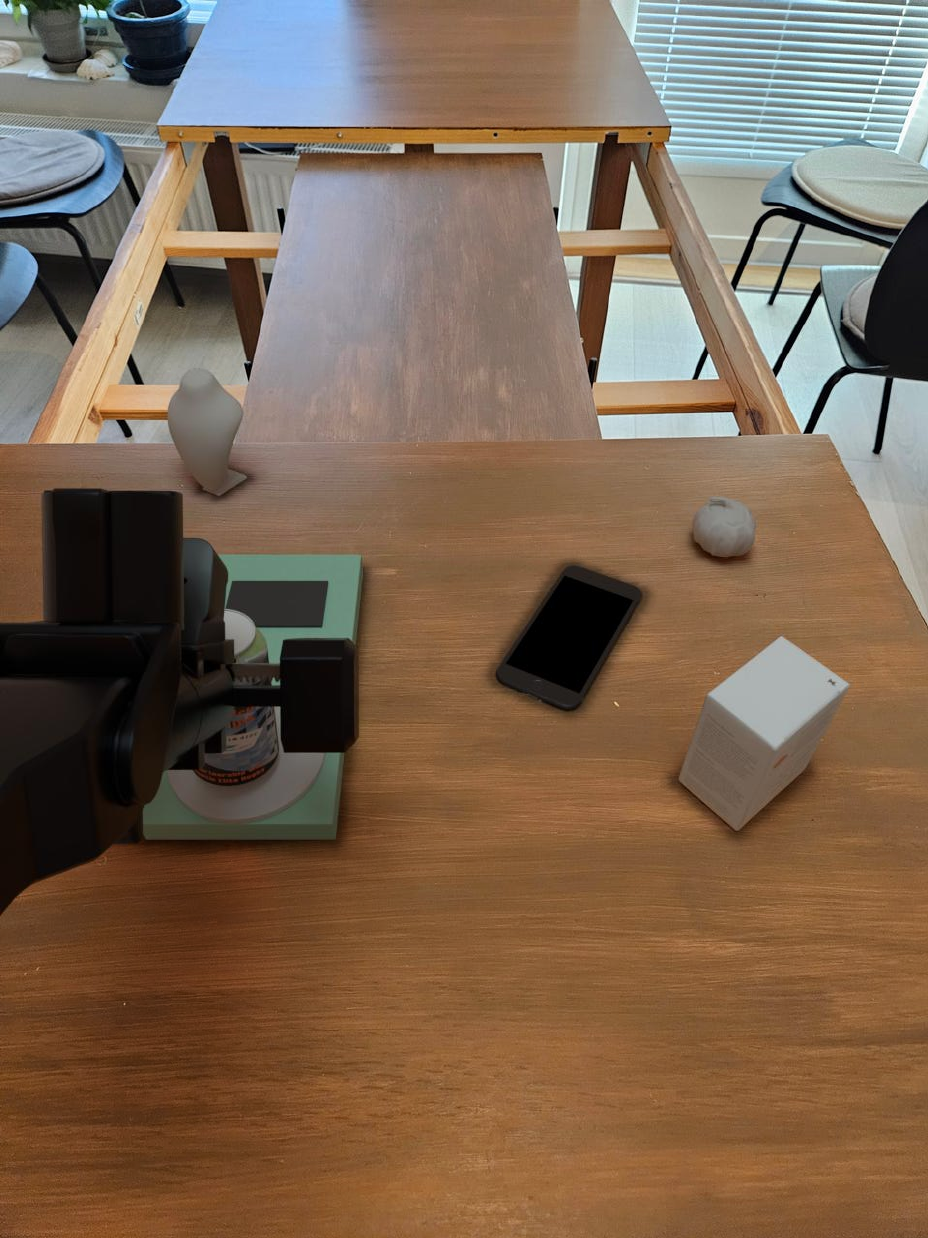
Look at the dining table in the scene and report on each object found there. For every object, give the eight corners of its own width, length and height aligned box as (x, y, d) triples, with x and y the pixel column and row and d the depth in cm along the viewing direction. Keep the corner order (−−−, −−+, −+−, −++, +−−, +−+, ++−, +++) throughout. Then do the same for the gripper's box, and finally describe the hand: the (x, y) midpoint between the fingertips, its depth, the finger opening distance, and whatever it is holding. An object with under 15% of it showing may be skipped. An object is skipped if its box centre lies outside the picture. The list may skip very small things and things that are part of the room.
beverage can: (181, 793, 60) (133, 683, 51) (213, 706, 65) (175, 592, 56) (272, 802, 60) (240, 693, 51) (298, 714, 65) (272, 600, 56)
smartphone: (489, 682, 71) (489, 675, 70) (567, 566, 80) (568, 559, 79) (574, 719, 68) (575, 712, 68) (645, 596, 77) (646, 588, 77)
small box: (744, 723, 68) (782, 631, 60) (806, 772, 65) (854, 682, 57) (674, 781, 64) (704, 691, 56) (735, 835, 61) (776, 749, 54)
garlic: (673, 538, 82) (683, 494, 78) (716, 517, 84) (728, 473, 80) (719, 577, 78) (733, 533, 74) (763, 554, 80) (778, 509, 76)
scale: (335, 840, 61) (331, 819, 59) (145, 840, 61) (134, 819, 59) (363, 572, 78) (360, 549, 76) (215, 572, 78) (209, 548, 76)
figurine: (172, 487, 86) (138, 379, 77) (207, 458, 89) (179, 350, 80) (233, 512, 84) (206, 404, 75) (268, 480, 87) (246, 373, 78)
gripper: (337, 543, 42) (371, 553, 57) (-63, 543, 42) (80, 552, 57) (339, 779, 42) (371, 725, 58) (-57, 779, 42) (83, 725, 58)
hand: (227, 677), depth 58 cm, fingers open, 9 cm apart
